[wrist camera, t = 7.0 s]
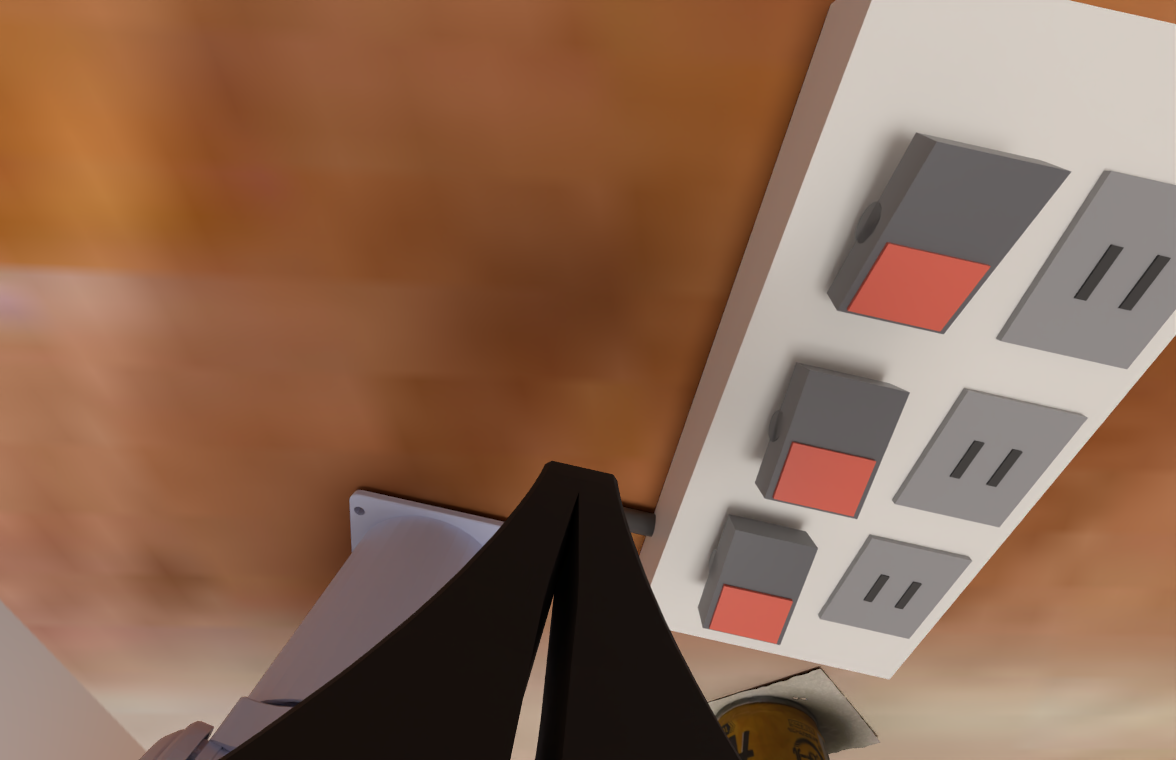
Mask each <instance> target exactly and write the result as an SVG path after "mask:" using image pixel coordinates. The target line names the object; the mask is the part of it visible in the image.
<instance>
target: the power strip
mask: <svg viewBox="0 0 1176 760" xmlns="http://www.w3.org/2000/svg"><path fill="white" fill-rule="evenodd" d="M916 132H917V133H922V134H926V135H930V136H935V137H939V138H944V139H948V140H953V141H957V142H962V143H966V144H971V145H975V146H980V147H984V148H989V149H993V150H998V151H1002V152H1007V153H1011V154H1016V155H1020V156H1025V157H1029V158H1034V159H1038V160H1042V161H1044V162H1047V163H1050V164H1053V165H1055V166H1058V167H1061V168H1063V169H1066V170H1069V171H1072V172H1071V173H1070V174H1069V176H1068V177H1067V178H1066V179H1065V181H1064V182H1063V183H1062V185H1061V186H1060V187H1059V188H1058V190H1057V191H1056V192H1055V193H1054V195H1053V196H1052V197H1051V199H1050V200H1049V201H1048V202H1047V204H1046V205H1045V206H1044V207H1043V209H1042V210H1041V211H1040V213H1039V214H1038V215H1037V216H1036V218H1035V219H1034V220H1033V221H1032V223H1031V224H1030V225H1029V226H1028V228H1027V229H1026V230H1025V232H1024V233H1023V234H1022V235H1021V237H1020V238H1019V239H1018V240H1017V242H1016V243H1015V244H1014V246H1013V247H1012V248H1011V249H1010V251H1009V252H1008V253H1007V254H1006V256H1005V257H1004V258H1003V260H1002V261H1001V262H1000V263H999V265H998V266H997V267H996V268H995V270H994V271H993V272H992V274H991V275H990V276H989V277H988V279H987V280H986V281H985V282H984V284H983V285H982V286H981V288H980V289H979V290H978V291H977V293H976V294H975V295H974V296H973V298H972V299H971V300H970V302H969V303H968V304H967V305H966V307H965V308H964V309H963V310H962V312H961V313H960V314H959V316H958V317H957V318H956V319H955V321H954V322H953V323H952V324H951V326H950V327H949V328H948V329H947V331H946V332H945V333H944V334H939V333H935V332H930V331H926V330H921V329H917V328H912V327H908V326H903V325H899V324H894V323H890V322H885V321H881V320H877V319H872V318H868V317H863V316H859V315H854V314H850V313H845V312H841V311H837V310H836V308H835V306H834V305H833V303H832V301H831V299H830V298H829V296H828V294H827V291H828V289H829V288H830V286H831V284H832V282H833V280H834V279H835V277H836V275H837V273H838V271H839V270H840V268H841V266H842V264H843V262H844V261H845V259H846V257H847V255H848V254H849V252H850V250H851V248H852V246H853V245H854V243H855V241H856V239H855V232H856V227H857V224H858V222H859V219H860V217H861V215H862V214H863V212H864V211H865V209H866V208H867V207H868V206H869V205H870V204H871V203H873V202H875V201H878V200H879V198H880V196H881V194H882V193H883V191H884V189H885V187H886V185H887V184H888V182H889V180H890V178H891V176H892V175H893V173H894V171H895V169H896V167H897V166H898V164H899V162H900V160H901V158H902V157H903V155H904V153H905V151H906V150H907V148H908V146H909V144H910V142H911V141H912V139H913V137H914V135H915V133H916ZM1175 335H1176V24H1173V23H1168V22H1164V21H1159V20H1155V19H1150V18H1146V17H1141V16H1137V15H1132V14H1128V13H1123V12H1119V11H1114V10H1110V9H1105V8H1101V7H1096V6H1092V5H1087V4H1083V3H1078V2H1074V1H1069V0H836V1H834V2H833V3H832V4H831V5H830V8H829V11H828V14H827V17H826V19H825V22H824V25H823V28H822V31H821V34H820V37H819V40H818V42H817V45H816V48H815V51H814V54H813V57H812V60H811V63H810V65H809V68H808V71H807V74H806V77H805V80H804V83H803V86H802V89H801V91H800V94H799V97H798V100H797V103H796V106H795V109H794V112H793V114H792V117H791V120H790V123H789V126H788V129H787V132H786V135H785V137H784V140H783V143H782V146H781V149H780V152H779V155H778V158H777V161H776V163H775V166H774V169H773V172H772V175H771V178H770V181H769V184H768V186H767V189H766V192H765V195H764V198H763V201H762V204H761V207H760V210H759V212H758V215H757V218H756V221H755V224H754V227H753V230H752V233H751V235H750V238H749V241H748V244H747V247H746V250H745V253H744V256H743V258H742V261H741V264H740V267H739V270H738V273H737V276H736V279H735V282H734V284H733V287H732V290H731V293H730V296H729V299H728V302H727V305H726V307H725V310H724V313H723V316H722V319H721V322H720V325H719V328H718V330H717V333H716V336H715V339H714V342H713V345H712V348H711V351H710V354H709V356H708V359H707V362H706V365H705V368H704V371H703V374H702V377H701V379H700V382H699V385H698V388H697V391H696V394H695V397H694V400H693V402H692V405H691V408H690V411H689V414H688V417H687V420H686V423H685V426H684V428H683V431H682V434H681V437H680V440H679V443H678V446H677V449H676V451H675V454H674V457H673V460H672V463H671V466H670V469H669V472H668V474H667V477H666V480H665V483H664V486H663V489H662V492H661V495H660V498H659V500H658V503H657V506H656V509H655V512H654V514H653V513H648V512H644V511H639V510H635V509H630V508H626V507H623V509H624V513H625V516H626V519H627V522H628V526H629V529H630V532H632V533H636V534H640V535H645V536H646V538H645V541H644V544H643V547H642V549H641V552H640V555H639V558H640V560H641V563H642V566H643V568H644V571H645V574H646V576H647V579H648V581H649V584H650V586H651V589H652V591H653V593H654V596H655V598H656V600H657V602H658V605H659V607H660V609H661V612H662V614H663V616H664V618H665V621H666V623H667V625H668V627H669V629H670V630H671V631H676V632H680V633H685V634H689V635H693V636H698V637H702V638H707V639H711V640H716V641H720V642H725V643H729V644H734V645H738V646H743V647H747V648H752V649H756V650H760V651H765V652H769V653H774V654H778V655H783V656H787V657H792V658H796V659H801V660H805V661H810V662H814V663H818V664H823V665H827V666H832V667H836V668H841V669H845V670H850V671H854V672H859V673H863V674H868V675H872V676H877V677H881V678H885V679H890V678H891V677H892V676H893V674H894V673H895V672H896V671H897V670H898V668H899V667H900V666H901V665H902V664H903V662H904V661H905V660H906V659H907V658H908V656H909V655H910V654H911V653H912V652H913V650H914V649H915V648H916V647H917V646H918V644H919V643H920V642H921V641H922V640H923V638H924V637H925V636H926V635H927V634H928V632H929V631H930V630H931V629H932V628H933V626H934V625H935V624H936V623H937V621H938V620H939V619H940V618H941V617H942V615H943V614H944V613H945V612H946V611H947V609H948V608H949V607H950V606H951V605H952V603H953V602H954V601H955V600H956V599H957V597H958V596H959V595H960V594H961V593H962V591H963V590H964V589H965V588H966V587H967V585H968V584H969V583H970V582H971V581H972V579H973V578H974V577H975V576H976V575H977V573H978V572H979V571H980V570H981V569H982V567H983V566H984V565H985V564H986V562H987V561H988V560H989V559H990V558H991V556H992V555H993V554H994V553H995V552H996V550H997V549H998V548H999V547H1000V546H1001V544H1002V543H1003V542H1004V541H1005V540H1006V538H1007V537H1008V536H1009V535H1010V534H1011V532H1012V531H1013V530H1014V529H1015V528H1016V526H1017V525H1018V524H1019V523H1020V522H1021V520H1022V519H1023V518H1024V517H1025V516H1026V514H1027V513H1028V512H1029V511H1030V510H1031V508H1032V507H1033V506H1034V505H1035V503H1036V502H1037V501H1038V500H1039V499H1040V497H1041V496H1042V495H1043V494H1044V493H1045V491H1046V490H1047V489H1048V488H1049V487H1050V485H1051V484H1052V483H1053V482H1054V481H1055V479H1056V478H1057V477H1058V476H1059V475H1060V473H1061V472H1062V471H1063V470H1064V469H1065V467H1066V466H1067V465H1068V464H1069V463H1070V461H1071V460H1072V459H1073V458H1074V457H1075V455H1076V454H1077V453H1078V452H1079V450H1080V449H1081V448H1082V447H1083V446H1084V444H1085V443H1086V442H1087V441H1088V440H1089V438H1090V437H1091V436H1092V435H1093V434H1094V432H1095V431H1096V430H1097V429H1098V428H1099V426H1100V425H1101V424H1102V423H1103V422H1104V420H1105V419H1106V418H1107V417H1108V416H1109V414H1110V413H1111V412H1112V411H1113V410H1114V408H1115V407H1116V406H1117V405H1118V404H1119V402H1120V401H1121V400H1122V399H1123V398H1124V396H1125V395H1126V394H1127V393H1128V391H1129V390H1130V389H1131V388H1132V387H1133V385H1134V384H1135V383H1136V382H1137V381H1138V379H1139V378H1140V377H1141V376H1142V375H1143V373H1144V372H1145V371H1146V370H1147V369H1148V367H1149V366H1150V365H1151V364H1152V363H1153V361H1154V360H1155V359H1156V358H1157V357H1158V355H1159V354H1160V353H1161V352H1162V351H1163V349H1164V348H1165V347H1166V346H1167V345H1168V343H1169V342H1170V341H1171V340H1172V339H1173V337H1174V336H1175ZM796 362H797V363H802V364H806V365H811V366H815V367H820V368H824V369H829V370H833V371H837V372H842V373H846V374H851V375H855V376H860V377H864V378H869V379H873V380H878V381H882V382H887V383H890V384H892V385H895V386H897V387H899V388H901V389H904V390H906V391H908V392H910V394H909V396H908V399H907V401H906V403H905V406H904V408H903V411H902V413H901V415H900V418H899V420H898V423H897V425H896V427H895V430H894V432H893V435H892V437H891V439H890V442H889V444H888V447H887V449H886V451H885V454H884V456H883V459H882V461H881V463H880V466H879V468H878V471H877V473H876V475H875V478H874V480H873V483H872V485H871V487H870V490H869V492H868V495H867V497H866V499H865V502H864V504H863V507H862V509H861V512H860V514H859V516H858V519H854V518H849V517H845V516H840V515H836V514H831V513H827V512H822V511H818V510H813V509H809V508H804V507H800V506H795V505H791V504H786V503H782V502H778V501H773V500H769V499H765V498H764V497H763V495H762V494H761V492H760V490H759V489H758V487H757V486H756V484H755V481H756V478H757V475H758V472H759V469H760V466H761V463H762V460H763V457H764V454H765V451H766V448H767V446H768V443H769V440H770V439H769V435H768V429H769V423H770V420H771V417H772V415H773V414H774V412H775V411H777V410H780V408H781V405H782V402H783V399H784V396H785V393H786V390H787V387H788V384H789V381H790V378H791V375H792V373H793V370H794V367H795V364H796ZM728 514H731V515H735V516H740V517H744V518H748V519H753V520H757V521H762V522H766V523H771V524H775V525H780V526H784V527H789V528H793V529H798V530H802V531H806V532H807V533H808V535H809V536H810V538H811V539H812V540H813V542H814V543H815V545H816V546H817V547H818V550H817V553H816V555H815V558H814V560H813V563H812V565H811V568H810V570H809V573H808V576H807V578H806V581H805V583H804V586H803V588H802V591H801V593H800V596H799V598H798V601H797V604H796V606H795V609H794V611H793V614H792V616H791V619H790V621H789V624H788V626H787V629H786V632H785V634H784V637H783V639H782V642H781V644H780V645H777V644H773V643H768V642H764V641H759V640H755V639H750V638H746V637H741V636H737V635H732V634H728V633H723V632H719V631H714V630H710V629H706V628H703V627H702V623H701V619H700V615H699V611H698V605H699V602H700V599H701V596H702V593H703V590H704V587H705V584H706V581H707V578H708V575H709V570H708V566H709V559H710V555H711V553H712V551H713V550H714V549H715V550H717V547H718V544H719V541H720V538H721V535H722V532H723V529H724V526H725V523H726V520H727V517H728Z"/></svg>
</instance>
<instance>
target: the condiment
mask: <svg viewBox="0 0 1176 760" xmlns="http://www.w3.org/2000/svg"><path fill="white" fill-rule="evenodd" d="M793 697H798V699H793ZM800 698H806V699H807V700H802V699H800ZM708 704H709V706H710V708H711V709H712V711H713V713H714V715H715V716H716V718H717V720H718V722H719V724H720V725H721V727H722V729H723V730H724V732H725V734H726V735H727V737H728V738H729V740H730V742H731V743H732V745H733V746H734V748H735V750H736V751H737V753H738V754H739V756H740V758H741V759H742V760H830V759H829V756H828V754H830V753H837V752H839V751H841V750H846V749H850V748H863V747H866V746H869V745H873V744H877V743H880V741H879V740H878V739H877V737H876V736H875V735H874V734H873V732H872V730H871V729H870V728H869V727H868V725H867V724H866V723H865V722H864V720H863V719H862V718H861V717H860V715H859V714H858V713H857V711H856V710H855V709H854V708H853V707H852V705H851V704H850V703H849V702H848V701H847V699H846V698H845V696H843V695H842V694H841V692H840V691H839V690H838V689H837V688H836V686H835V685H834V684H833V682H832V681H831V680H830V679H829V678H828V677H827V676H826V675H825V673H824V672H823V671H822V670H821V669H818V670H814V671H811V672H810V673H808V674H804V675H800V676H795V677H792V678H790V679H789V680H787V681H781V682H778V683H774V684H771V685H770V686H767V687H761V688H758V689H753V690H748V691H745V692H741V693H737V694H735V695H732V696H729V697H726V698H722V699H719V700H716V701H712V702H709V703H708Z"/></svg>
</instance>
